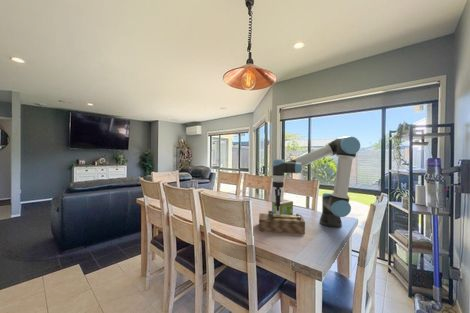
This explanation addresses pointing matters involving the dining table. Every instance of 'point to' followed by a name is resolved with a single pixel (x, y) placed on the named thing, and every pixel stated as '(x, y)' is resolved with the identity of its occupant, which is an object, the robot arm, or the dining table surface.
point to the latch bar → (286, 216)
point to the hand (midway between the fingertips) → (277, 214)
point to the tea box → (284, 207)
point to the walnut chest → (281, 223)
